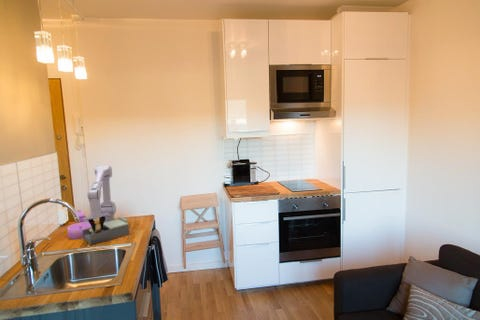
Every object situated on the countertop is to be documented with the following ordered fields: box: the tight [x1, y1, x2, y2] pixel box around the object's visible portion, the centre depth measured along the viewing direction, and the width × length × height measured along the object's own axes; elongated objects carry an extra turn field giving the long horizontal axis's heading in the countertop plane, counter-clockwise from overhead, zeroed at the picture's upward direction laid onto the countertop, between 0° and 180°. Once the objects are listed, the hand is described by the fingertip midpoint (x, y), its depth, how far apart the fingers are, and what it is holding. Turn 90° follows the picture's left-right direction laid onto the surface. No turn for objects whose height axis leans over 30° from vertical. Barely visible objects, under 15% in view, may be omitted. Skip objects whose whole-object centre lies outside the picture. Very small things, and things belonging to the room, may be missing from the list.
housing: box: [82, 224, 130, 246], centre depth 197 cm, size 14×24×6 cm, turn 133°
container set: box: [67, 209, 92, 240], centre depth 207 cm, size 25×15×13 cm, turn 28°
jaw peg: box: [94, 221, 102, 233], centre depth 190 cm, size 4×4×6 cm
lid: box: [103, 215, 130, 229], centre depth 201 cm, size 14×12×3 cm
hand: (97, 229), depth 191 cm, fingers closed on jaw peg, 4 cm apart
